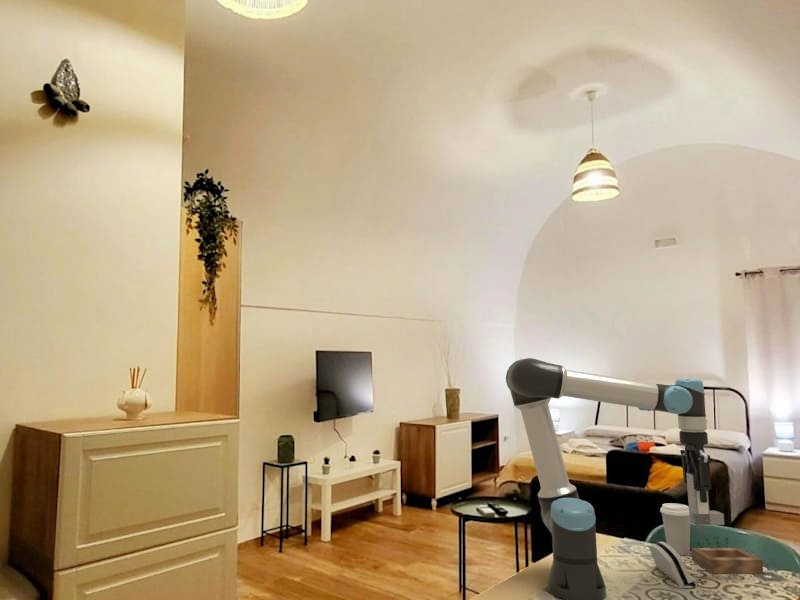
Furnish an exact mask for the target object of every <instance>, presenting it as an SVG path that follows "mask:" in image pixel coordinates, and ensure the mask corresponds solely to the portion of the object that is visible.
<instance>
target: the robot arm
mask: <svg viewBox="0 0 800 600" xmlns="http://www.w3.org/2000/svg"><path fill="white" fill-rule="evenodd" d="M505 383H506V386H507V388H508V390H510V394H511V398H512V402H513V405H514V407H515V408H516V409H518V410H519V411H520V413H521V417H522V421H523V425H524V429H525V433H526V435H527V436H526V437H527V440H528V444H529V446H530V451H531V455H532V458H533V462H534V467H535V470H536V473H537V478H538V481H539V485H540V486H539V487H540V489H539V491H538V493H537V498H538V502H539V505H540V517H541V519H542V523H544V524H543V525H544V526H545V527H546V528H547V529H548V531H549V532H550V533H551V537H552V540H551V542H552V543H551V544H552V556H553V557H552V559H553V560H552V564H551V568H550V571H549V573H548V578H547V590H548V592H549V593H550V594H551V595H552V596H555V597H557V598H559V599H563V600H603V599H604V598H606V596H607V589H606V584H605V580H604V578H603V575H602V572H601V569H600V566H599V564H598V552H597V551H598V548H597V547H598V546H597V533H596V532H597V531H596V529H597V527H596V519H597V518H596V515H595V509H594V507H593V505H592V504H591V503H590V502H589V501H586V500H583V499H580V498H579V493H578V490H577V487H576V486H575V485H573V484H572V483H570V481H569V477H568V473H567V468H566V466H565V462H564V457H563V455H562V451H561V448H560V444H559V443H560V442H559V440H558V436H557V433H556V427H555V426H554V421H553V419H552V414H551V410H550V407H549V403H550V402H551V400H552V399H561V398H562V397H568V398H574V399H581V400H587V401H588V400H589V401H594V402H599V403H608V404H613V405H619V406H626V407H632V408H637V409H638V410H640V411H646V412H647V411H648V412H651V411H653V412H656V411H658V412H662V413H669V414H673V415H677V421H678V422H677V423H678V429H679V432H678V433H679V442H680V444H682V445H684V449H680V451H679V452H680V456H681V463H682V466H681V467H682V475H683V483H684V484H687V476H686V473H695V476H696V482H697V488H698V489H695V490H696V496H697V509H698V514H708V501H707V491H708V492H709V490H710V491H711V490H712V481H711V480H712V479H711V467H710V466H711V465H710V464H711V456H710V455H709V454H706V453H705V449H704V446H707V445H708V443H709V438H708V432H707V431H706V430H707V423H708V419H707V414H706V400H705V389H704V384H703V383H704V382H703V380H701V379H700V378H678V379H677V378H676V380H675V384H674V385H668V384H662V383H655V382H648V381H642V380H635V379H628V378H622V377H616V376H609V375H602V374H598V373H597V374H596V373H591V372H583V371H577V370H572V369H566V368H565V366H564V365H562V364H561V365H560V364H556V363H552V362H551V363H550V362H546V361H543V360H540V359H536V358H531V357H527V358H522V359H521V358H520V359H519V360H516V361H514V362H512V364H510V366H509V367H508V369H507V371H506V374H505Z"/></svg>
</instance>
